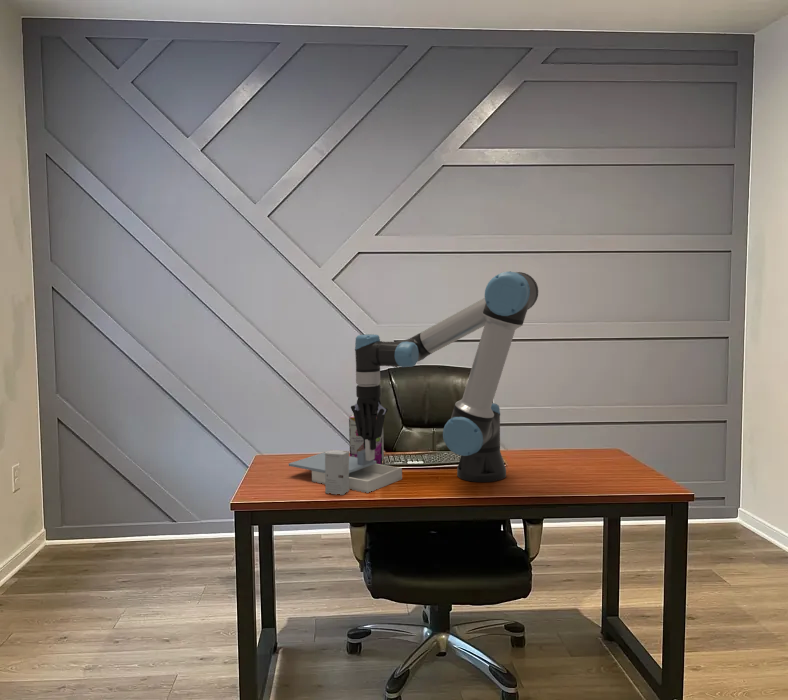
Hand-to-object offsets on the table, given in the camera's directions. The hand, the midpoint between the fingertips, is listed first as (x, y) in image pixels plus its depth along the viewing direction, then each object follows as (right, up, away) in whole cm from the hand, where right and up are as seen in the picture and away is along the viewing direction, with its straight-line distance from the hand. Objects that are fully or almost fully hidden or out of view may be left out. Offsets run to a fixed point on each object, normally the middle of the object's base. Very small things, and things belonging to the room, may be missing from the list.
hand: (370, 459), depth 217 cm
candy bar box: (-2, -4, +18) cm, 19 cm away
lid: (-12, -2, +4) cm, 13 cm away
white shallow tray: (-4, -6, -2) cm, 8 cm away
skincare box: (-9, -8, -14) cm, 18 cm away
